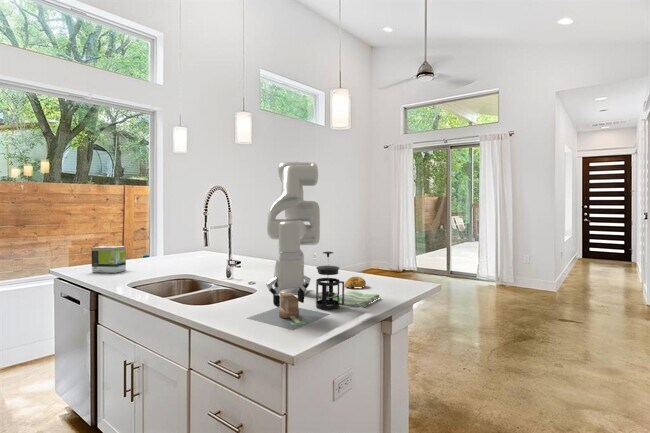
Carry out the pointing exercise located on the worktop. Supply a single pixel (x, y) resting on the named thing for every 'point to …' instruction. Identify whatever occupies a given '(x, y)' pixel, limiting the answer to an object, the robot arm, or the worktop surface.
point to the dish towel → (357, 299)
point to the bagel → (355, 282)
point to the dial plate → (288, 323)
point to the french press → (325, 294)
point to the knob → (289, 306)
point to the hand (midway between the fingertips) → (289, 304)
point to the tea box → (108, 259)
